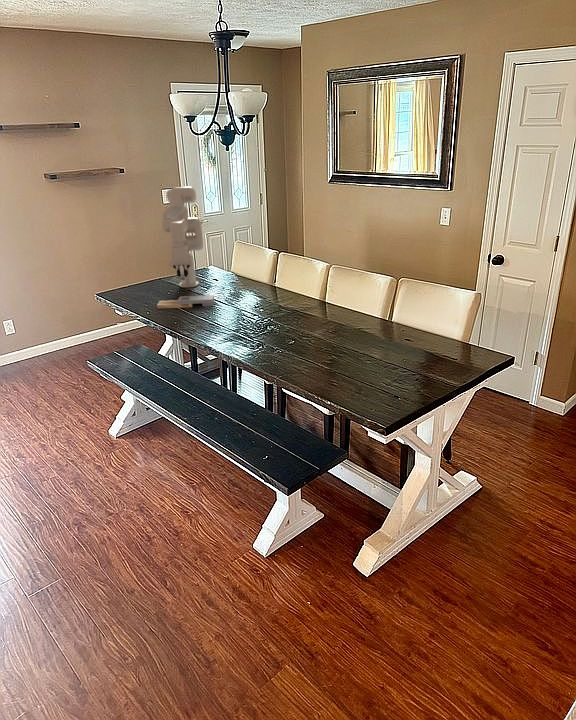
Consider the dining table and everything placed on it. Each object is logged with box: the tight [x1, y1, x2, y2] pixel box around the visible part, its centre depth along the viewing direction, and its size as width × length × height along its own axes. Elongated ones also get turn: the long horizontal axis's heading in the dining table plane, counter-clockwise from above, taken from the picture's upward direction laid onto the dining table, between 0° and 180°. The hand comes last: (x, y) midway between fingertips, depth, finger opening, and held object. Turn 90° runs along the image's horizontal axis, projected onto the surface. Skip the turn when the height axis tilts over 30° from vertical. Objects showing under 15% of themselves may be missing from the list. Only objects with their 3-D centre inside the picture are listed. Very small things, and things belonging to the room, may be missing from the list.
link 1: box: [156, 299, 194, 310], centre depth 314 cm, size 8×20×2 cm, turn 91°
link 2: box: [177, 294, 215, 307], centre depth 314 cm, size 8×20×4 cm, turn 92°
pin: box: [179, 265, 186, 281], centre depth 306 cm, size 3×3×9 cm
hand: (182, 276), depth 307 cm, fingers closed on pin, 3 cm apart
